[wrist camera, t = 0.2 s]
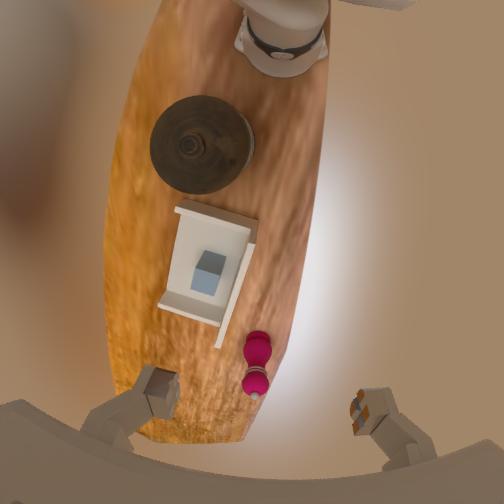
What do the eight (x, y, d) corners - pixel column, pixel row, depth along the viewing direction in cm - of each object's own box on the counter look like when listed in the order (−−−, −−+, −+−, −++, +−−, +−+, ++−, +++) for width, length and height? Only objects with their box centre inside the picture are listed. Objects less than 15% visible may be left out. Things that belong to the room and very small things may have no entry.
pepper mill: (243, 347, 71) (235, 405, 53) (246, 327, 69) (239, 386, 50) (269, 350, 71) (268, 409, 53) (274, 331, 69) (274, 390, 50)
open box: (185, 198, 56) (162, 216, 43) (258, 220, 57) (255, 244, 44) (167, 291, 66) (146, 324, 53) (228, 311, 67) (219, 348, 54)
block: (204, 249, 60) (195, 267, 51) (226, 256, 60) (219, 275, 52) (200, 269, 61) (190, 289, 53) (220, 275, 62) (213, 296, 54)
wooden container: (265, 165, 53) (263, 180, 33) (197, 188, 55) (158, 217, 35) (241, 98, 48) (224, 71, 27) (174, 124, 50) (122, 118, 30)
